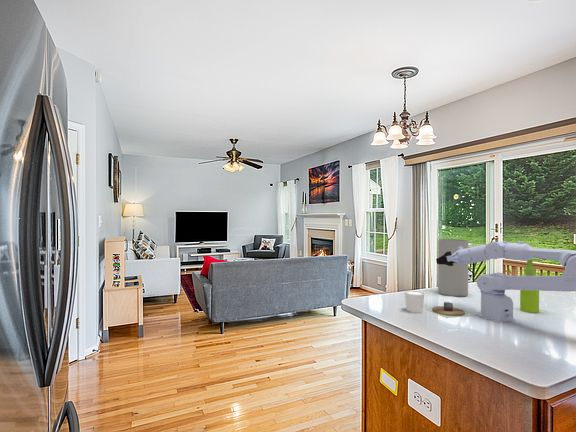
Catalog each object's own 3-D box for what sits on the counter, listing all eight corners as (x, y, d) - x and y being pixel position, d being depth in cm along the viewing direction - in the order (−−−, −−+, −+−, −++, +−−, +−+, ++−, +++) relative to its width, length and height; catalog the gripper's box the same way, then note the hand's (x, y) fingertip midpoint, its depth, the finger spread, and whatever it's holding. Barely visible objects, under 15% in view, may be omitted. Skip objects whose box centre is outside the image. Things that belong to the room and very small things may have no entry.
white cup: (427, 314, 124) (427, 295, 124) (408, 314, 124) (408, 294, 124) (420, 309, 131) (420, 291, 131) (402, 308, 131) (402, 290, 131)
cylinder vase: (474, 295, 153) (474, 240, 153) (453, 298, 149) (454, 241, 149) (451, 290, 165) (452, 238, 165) (432, 292, 160) (432, 239, 160)
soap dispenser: (545, 313, 126) (545, 259, 126) (524, 312, 127) (524, 259, 127) (537, 309, 132) (537, 257, 132) (517, 308, 133) (517, 257, 133)
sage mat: (474, 316, 122) (474, 315, 122) (446, 318, 118) (446, 317, 118) (449, 307, 133) (449, 306, 133) (423, 309, 130) (423, 308, 130)
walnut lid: (472, 315, 122) (472, 306, 122) (446, 317, 119) (447, 308, 119) (449, 307, 132) (449, 298, 132) (425, 309, 129) (425, 300, 129)
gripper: (483, 243, 131) (452, 250, 142) (458, 245, 124) (428, 252, 135) (488, 261, 129) (457, 266, 141) (463, 264, 122) (433, 269, 134)
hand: (443, 260), depth 138 cm, fingers open, 7 cm apart
